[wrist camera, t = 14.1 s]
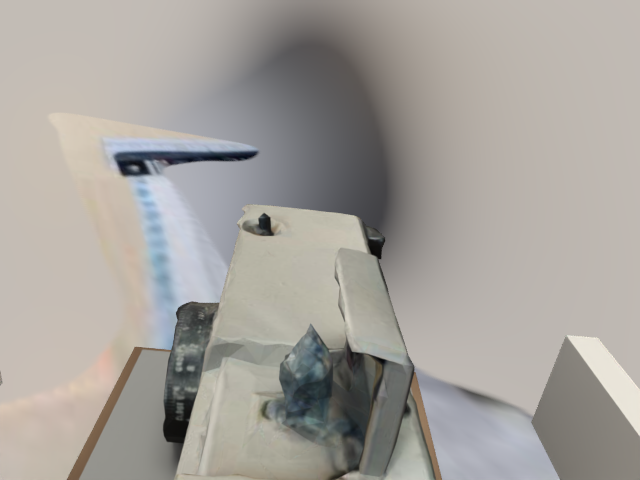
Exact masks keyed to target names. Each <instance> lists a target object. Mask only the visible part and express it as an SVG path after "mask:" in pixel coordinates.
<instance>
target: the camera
mask: <svg viewBox="0 0 640 480" xmlns="http://www.w3.org/2000/svg"><path fill="white" fill-rule="evenodd" d="M242 210H243V211H244V216H243V217H242V218H241V219H240V220H239V221H238V223H237V225H238V227H239V228H240V230H239V234H238V238H237V241H236V244H235V249H234V253H233V256H232V260H231V263H230V267H229V270H228V273H227V276H226V281H225V284H224V288H223V292H222V295H221V299H220V303H198V302H189V303H186V304H184V305H182V306H180V307H179V308H178V310H177V312H176V316H177V319H178V321H177V324H176V327H175V334H174V341H173V346H172V350H171V353H170V356H169V359H168V366H167V374H166V382H165V390H164V400H163V402H164V411H165V420H164V423H163V434H164V437H165V439H166V441H167V442H172V443H183V444H184V445H183V449H182V453H181V457H180V461H179V464H178V468H177V472H176V475H175V478H174V480H436V476H435V472H434V468H433V464H432V460H431V456H430V453H429V450H428V446H427V443H426V439H425V436H424V432H423V429H422V425H421V421H420V417H419V413H418V408H417V404H416V401H415V399H414V397H413V396H412V394H411V391H410V388H411V384H412V380H413V376H414V365H413V363H412V361H411V360H410V358H409V356H408V353H407V349H406V346H405V343H404V340H403V337H402V334H401V331H400V328H399V325H398V322H397V319H396V316H395V313H394V310H393V306H392V303H391V300H390V296H389V293H388V288H387V285H386V282H385V279H384V276H383V272H382V270H381V267H380V263H379V260H378V259H381V252H382V247H383V245H384V242H385V237H384V236H383V235H382V234H380V233H379V232H378V231H377V230H376V229H374V228H371V227H369V226H366V225H365V224H364V222H363V221H362V220H361V219H360V218H358V217H356V216H352V215H346V214H340V213H331V212H322V211H314V210H305V209H295V208H285V207H277V206H266V205H252V204H247V205H246V206H244V207H243V208H242Z"/></svg>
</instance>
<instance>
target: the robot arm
mask: <svg viewBox="0 0 640 480" xmlns="http://www.w3.org/2000/svg"><path fill="white" fill-rule="evenodd" d="M1 384H2V378H1V373H0V385H1ZM531 423H532V425H533V427H534V429H535V431H536V433H537V435H538V437H539V439H540V440H541V442H542V444H543V446H544V448H545V450H546V452H547V454H548V456H549V458H550V460H551V462H552V464H553V466H554V468H555V470H556V472H557V474H558V476H559V478H560V480H640V389H639V388H638V387H637V386H636V385H635V383H634V382H633V381H632V380H631V378H630V377H629V376H628V375H627V374H626V372H625V371H624V370H623V368H622V367H621V366H620V365H619V364H618V362H617V361H616V360H615V359H614V357H612V355H611V354H610V352H609V351H608V350H607V349H606V348H605V346H604V345H603V344H602V343H601V341H600V340H599V339H598V338H593V337H580V336H568V335H566V337H565V339H564V342H563V344H562V347H561V349H560V352H559V355H558V357H557V359H556V362H555V364H554V367H553V370H552V372H551V374H550V377H549V379H548V382H547V384H546V387H545V389H544V392H543V395H542V397H541V400H540V402H539V405H538V407H537V410H536V412H535V415H534V417H533V420H532V422H531Z"/></svg>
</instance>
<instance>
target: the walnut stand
mask: <svg viewBox="0 0 640 480" xmlns="http://www.w3.org/2000/svg"><path fill="white" fill-rule="evenodd" d="M170 353H171V350H164V349H153V348H142V347H135V348H134V350H133V352H132V354H131V356H130V358H129V360H128V362H127V364H126V365H125V367H124V369H123V371H122V373H121V375H120V377H119V379H118V381H117V383H116V385H115V387H114V389H113V391H112V393H111V395H110V397H109V399H108V401H107V402H106V404H105V406H104V408H103V410H102V412H101V414H100V416H99V418H98V420H97V422H96V424H95V426H94V428H93V430H92V432H91V434H90V436H89V438H88V440H87V441H86V443H85V445H84V447H83V449H82V451H81V453H80V455H79V457H78V459H77V461H76V463H75V465H74V467H73V469H72V471H71V473H70V475H69V477H68V478H67V480H174V478H175V475H176V472H177V468H178V464H179V461H180V457H181V453H182V449H183V445H184V444H183V443H172V442H167V441H166V439H165V437H164V434H163V423H164V420H165V411H164V402H163V400H164V390H165V382H166V374H167V366H168V359H169V356H170ZM410 391H411V394H412V396H413V397H414V399H415V401H416V404H417V408H418V413H419V417H420V421H421V425H422V429H423V432H424V436H425V439H426V443H427V446H428V450H429V453H430V456H431V460H432V464H433V468H434V472H435V476H436V480H442V478H441V474H440V470H439V466H438V462H437V458H436V453H435V449H434V445H433V441H432V437H431V433H430V429H429V425H428V421H427V417H426V413H425V409H424V405H423V401H422V397H421V393H420V389H419V385H418V381H417V377H416V373H415V372H414V376H413V380H412V384H411V388H410Z"/></svg>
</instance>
